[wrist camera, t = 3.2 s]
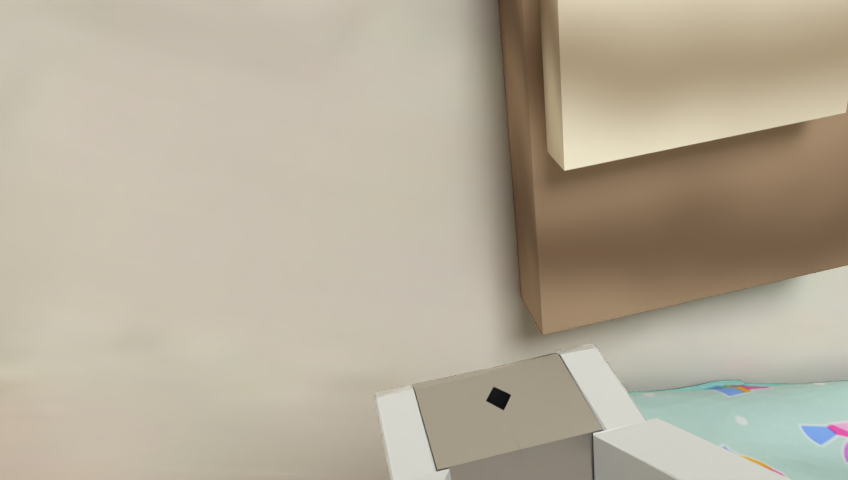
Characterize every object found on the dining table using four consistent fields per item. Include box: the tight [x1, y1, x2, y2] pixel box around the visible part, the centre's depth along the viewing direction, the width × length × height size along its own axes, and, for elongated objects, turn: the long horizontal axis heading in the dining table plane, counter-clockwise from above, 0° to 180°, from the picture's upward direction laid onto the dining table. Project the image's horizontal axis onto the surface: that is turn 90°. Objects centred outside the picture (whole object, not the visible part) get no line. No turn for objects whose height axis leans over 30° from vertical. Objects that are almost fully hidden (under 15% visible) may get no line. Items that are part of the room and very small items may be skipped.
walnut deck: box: [499, 0, 848, 335], centre depth 23 cm, size 20×12×2 cm, turn 8°
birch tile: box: [540, 0, 848, 171], centre depth 22 cm, size 6×9×2 cm, turn 98°
